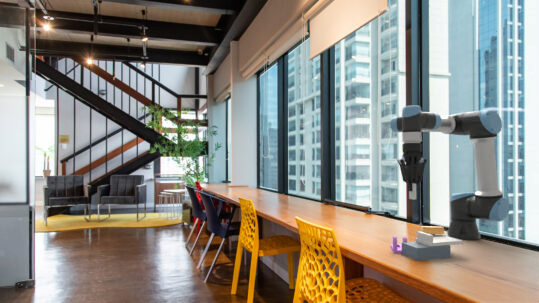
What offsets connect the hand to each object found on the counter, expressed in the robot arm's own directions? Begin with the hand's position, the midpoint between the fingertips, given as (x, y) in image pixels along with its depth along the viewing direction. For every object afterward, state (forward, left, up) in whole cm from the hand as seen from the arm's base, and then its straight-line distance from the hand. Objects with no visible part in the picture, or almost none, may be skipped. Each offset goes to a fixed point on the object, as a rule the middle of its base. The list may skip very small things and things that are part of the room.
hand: (412, 199), depth 147 cm
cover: (-13, 0, -19) cm, 23 cm away
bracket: (-1, -12, -24) cm, 27 cm away
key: (-18, -9, -23) cm, 31 cm away
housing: (-9, -3, -24) cm, 26 cm away
